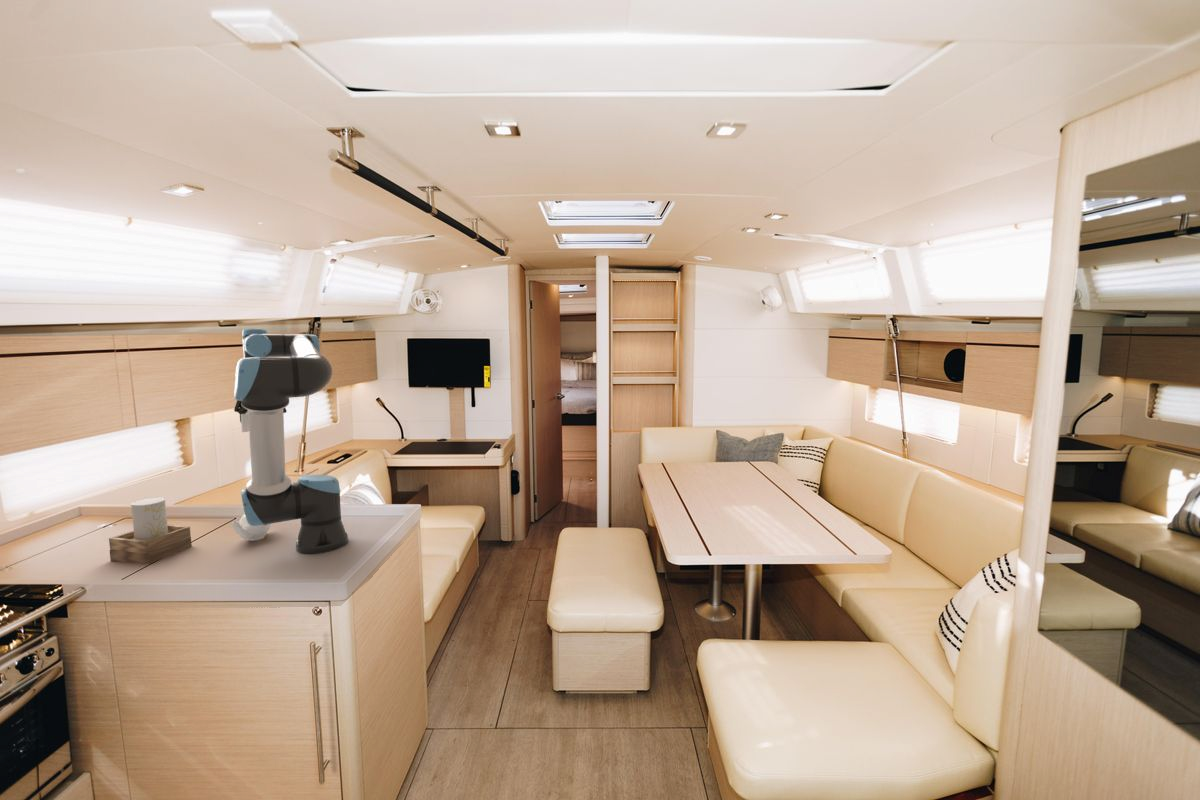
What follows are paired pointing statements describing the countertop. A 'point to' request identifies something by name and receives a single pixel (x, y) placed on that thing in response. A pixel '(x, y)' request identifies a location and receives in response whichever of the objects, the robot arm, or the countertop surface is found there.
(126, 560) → the tower base
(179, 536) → the wooden tray
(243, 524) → the teapot
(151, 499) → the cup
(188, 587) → the countertop surface
